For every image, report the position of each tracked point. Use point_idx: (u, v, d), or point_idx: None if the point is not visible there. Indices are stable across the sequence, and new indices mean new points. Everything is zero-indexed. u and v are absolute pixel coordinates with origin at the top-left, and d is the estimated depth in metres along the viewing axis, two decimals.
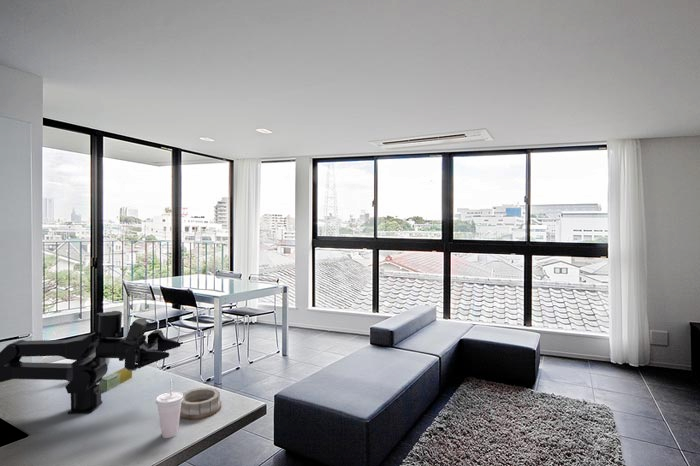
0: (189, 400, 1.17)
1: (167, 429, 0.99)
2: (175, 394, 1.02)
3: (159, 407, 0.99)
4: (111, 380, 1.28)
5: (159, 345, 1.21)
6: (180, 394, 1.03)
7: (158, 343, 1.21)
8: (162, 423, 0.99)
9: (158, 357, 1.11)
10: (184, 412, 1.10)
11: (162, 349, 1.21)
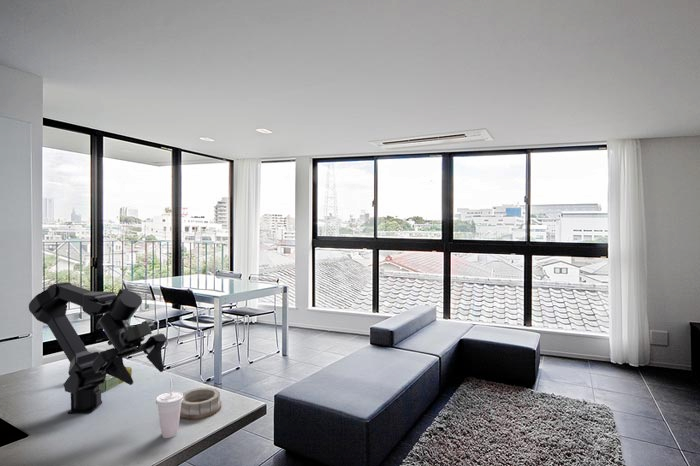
0: (189, 400, 1.17)
1: (167, 429, 0.99)
2: (175, 394, 1.02)
3: (159, 407, 0.99)
4: (110, 380, 1.28)
5: (151, 353, 1.11)
6: (180, 394, 1.03)
7: (151, 351, 1.11)
8: (162, 423, 0.99)
9: (123, 377, 1.00)
10: (184, 412, 1.10)
11: (150, 358, 1.11)
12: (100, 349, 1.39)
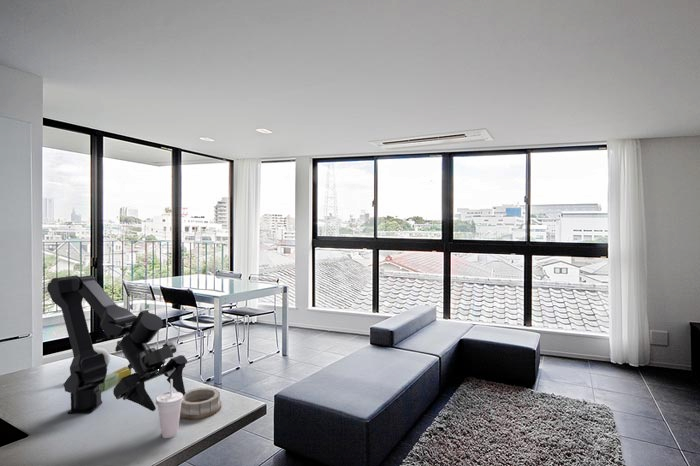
0: (189, 400, 1.17)
1: (167, 429, 0.99)
2: (175, 394, 1.02)
3: (159, 407, 0.99)
4: (108, 380, 1.28)
5: (172, 376, 1.08)
6: (180, 394, 1.03)
7: (172, 374, 1.08)
8: (162, 423, 0.99)
9: (145, 403, 0.97)
10: (184, 412, 1.10)
11: None
12: (100, 349, 1.39)
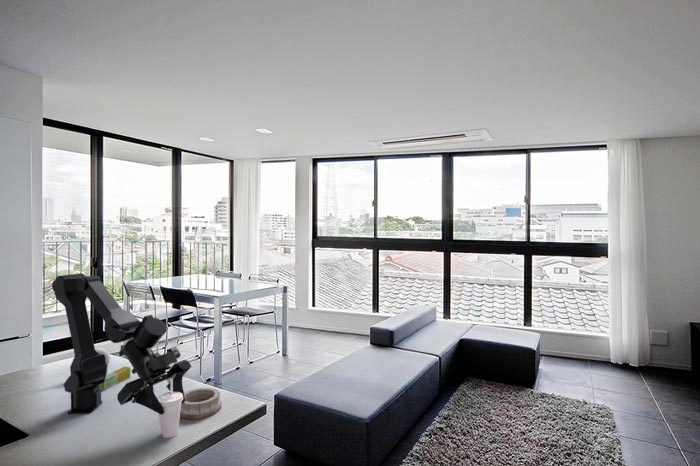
0: (189, 400, 1.17)
1: (167, 429, 0.99)
2: (175, 394, 1.02)
3: None
4: (108, 380, 1.28)
5: None
6: (180, 394, 1.03)
7: None
8: (162, 423, 0.99)
9: (154, 407, 0.98)
10: (184, 412, 1.10)
11: None
12: (100, 349, 1.39)
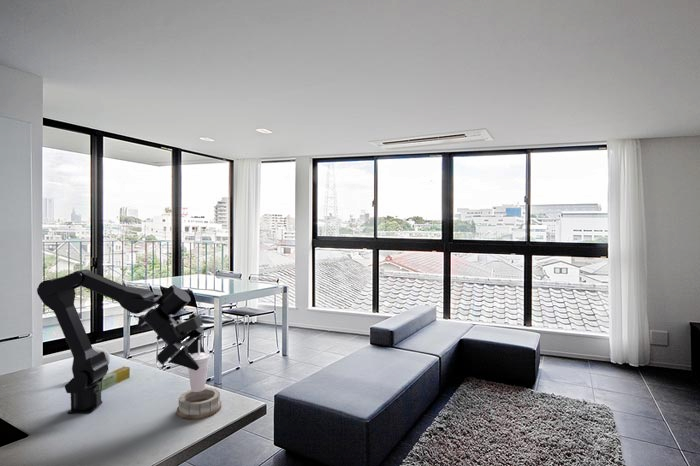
0: (189, 400, 1.17)
1: (199, 383, 1.12)
2: (201, 353, 1.15)
3: None
4: (106, 380, 1.29)
5: (191, 346, 1.18)
6: (205, 353, 1.16)
7: (192, 344, 1.18)
8: (194, 379, 1.12)
9: (189, 364, 1.10)
10: (184, 412, 1.10)
11: (190, 351, 1.17)
12: (100, 349, 1.39)
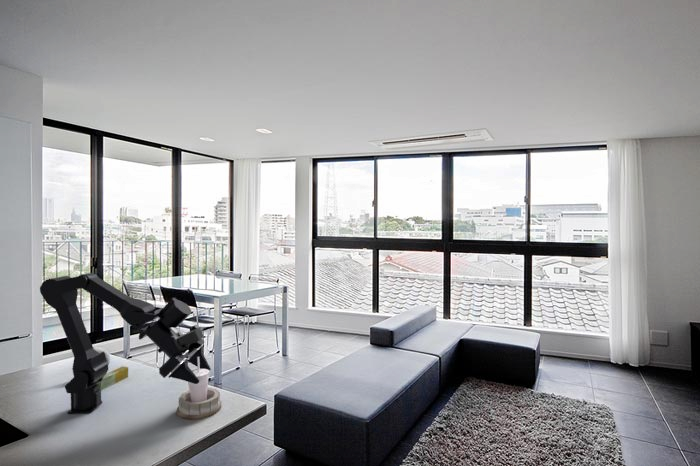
0: (189, 400, 1.17)
1: (200, 400, 1.13)
2: (201, 370, 1.16)
3: None
4: (105, 380, 1.29)
5: (194, 356, 1.19)
6: (205, 369, 1.17)
7: (194, 355, 1.19)
8: (195, 395, 1.13)
9: (189, 378, 1.10)
10: (184, 412, 1.10)
11: (193, 362, 1.19)
12: (100, 349, 1.39)
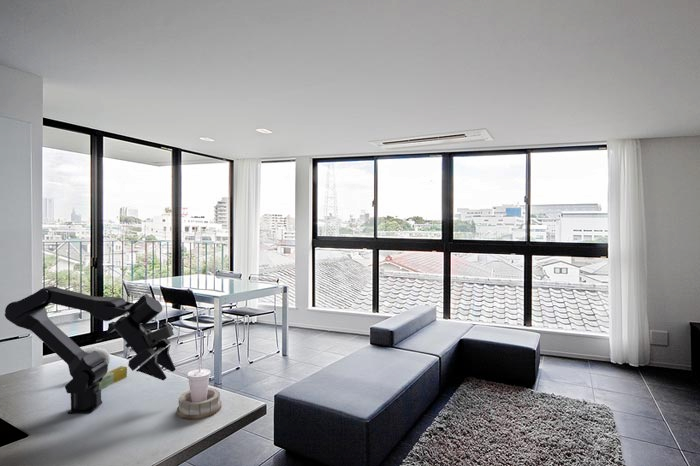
0: (189, 400, 1.17)
1: (200, 400, 1.13)
2: (202, 370, 1.16)
3: (193, 382, 1.12)
4: (103, 380, 1.29)
5: (159, 356, 1.20)
6: (206, 370, 1.17)
7: (160, 354, 1.20)
8: (196, 396, 1.13)
9: (156, 374, 1.10)
10: (184, 412, 1.10)
11: (158, 361, 1.20)
12: (100, 349, 1.39)
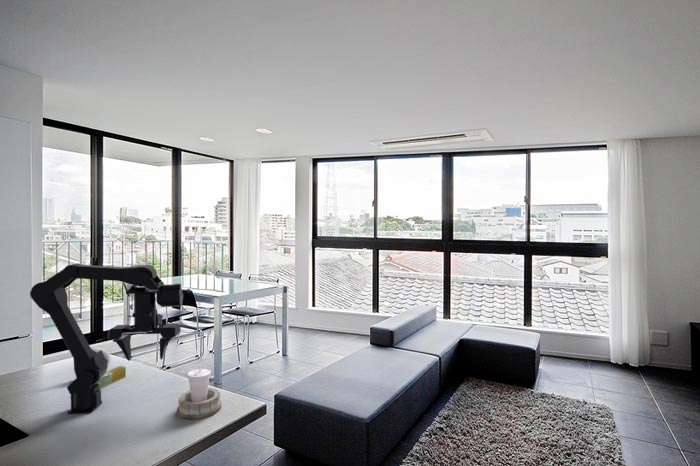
0: (189, 400, 1.17)
1: (200, 400, 1.13)
2: (202, 370, 1.16)
3: (193, 382, 1.12)
4: (102, 380, 1.29)
5: (126, 339, 1.17)
6: (206, 370, 1.17)
7: (127, 338, 1.18)
8: (196, 396, 1.13)
9: (163, 350, 1.19)
10: (184, 412, 1.10)
11: (125, 344, 1.16)
12: (100, 349, 1.39)
